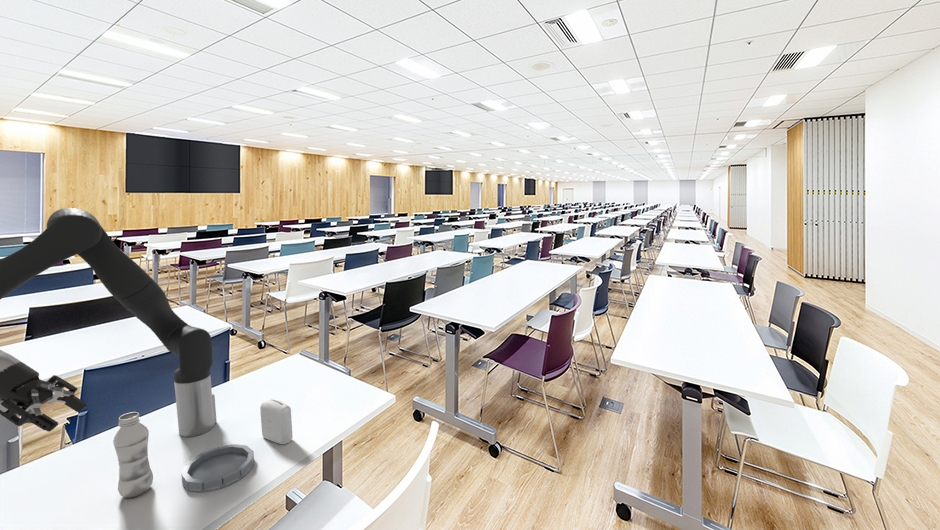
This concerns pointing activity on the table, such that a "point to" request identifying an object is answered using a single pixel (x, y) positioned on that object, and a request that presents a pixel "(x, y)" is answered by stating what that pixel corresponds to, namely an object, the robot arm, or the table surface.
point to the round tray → (217, 468)
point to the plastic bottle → (132, 456)
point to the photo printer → (276, 421)
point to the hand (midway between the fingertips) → (69, 417)
